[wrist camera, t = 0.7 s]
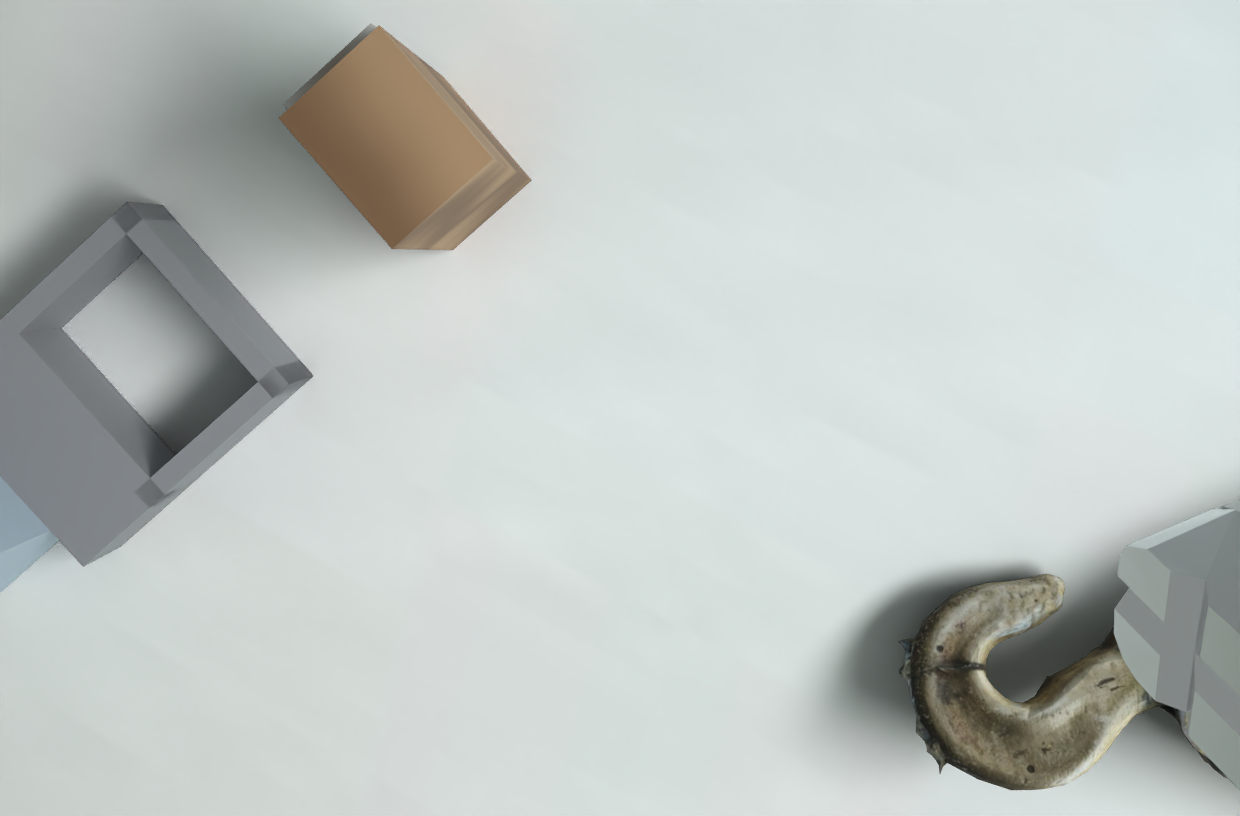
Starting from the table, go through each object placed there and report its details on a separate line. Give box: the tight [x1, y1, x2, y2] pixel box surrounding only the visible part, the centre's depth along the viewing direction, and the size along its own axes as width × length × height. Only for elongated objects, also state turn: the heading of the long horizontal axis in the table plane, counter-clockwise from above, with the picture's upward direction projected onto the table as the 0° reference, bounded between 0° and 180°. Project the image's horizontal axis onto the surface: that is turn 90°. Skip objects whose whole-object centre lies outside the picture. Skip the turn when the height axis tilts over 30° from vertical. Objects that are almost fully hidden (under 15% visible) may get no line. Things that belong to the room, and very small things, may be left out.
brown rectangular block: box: [279, 24, 531, 250], centre depth 39 cm, size 4×6×10 cm
